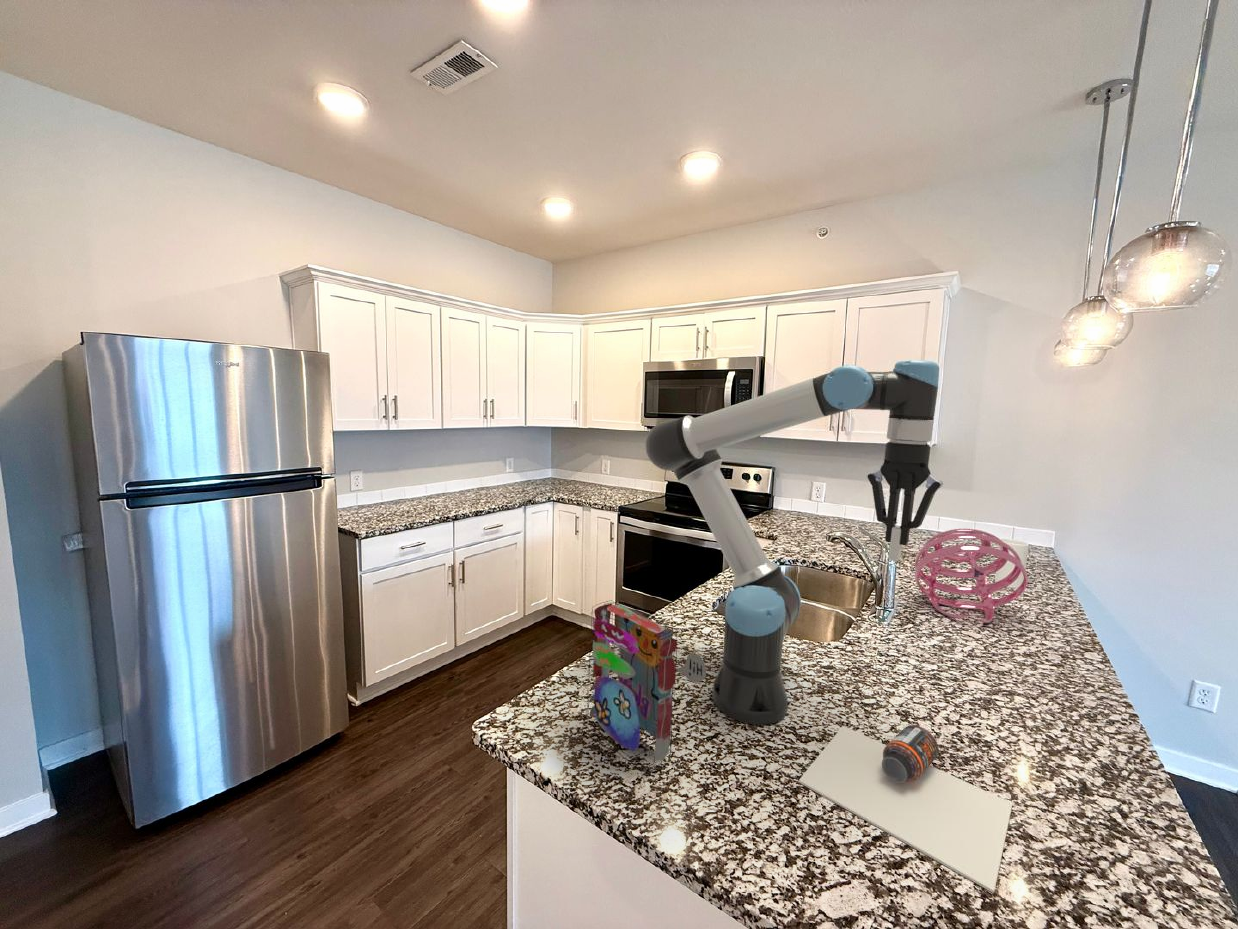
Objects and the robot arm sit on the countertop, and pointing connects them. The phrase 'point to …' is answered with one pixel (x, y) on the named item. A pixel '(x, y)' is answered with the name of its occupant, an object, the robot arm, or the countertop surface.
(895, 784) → the mat
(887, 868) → the countertop surface
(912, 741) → the supplement bottle
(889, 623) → the countertop surface
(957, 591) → the spiral basket
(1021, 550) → the cup
